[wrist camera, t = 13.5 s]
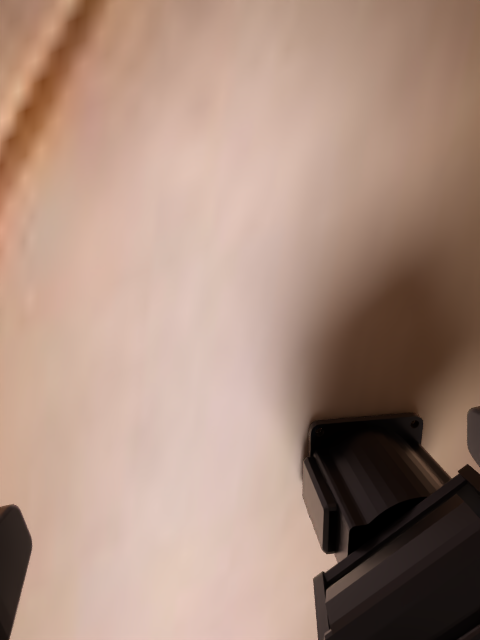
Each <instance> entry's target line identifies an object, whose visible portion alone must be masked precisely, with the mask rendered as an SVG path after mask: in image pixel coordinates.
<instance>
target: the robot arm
mask: <svg viewBox="0 0 480 640" xmlns="http://www.w3.org/2000/svg"><path fill="white" fill-rule="evenodd" d="M414 420H415V422H414V423H413V424H411V422H412V421H414ZM410 424H411V425H410ZM319 428H322V430H321V431H320V432H316V430H317V429H319ZM422 430H423V420H422V418H421V417H420V416H419V415H417V414H416V413H403V414H391V415H379V416H367V417H355V418H343V419H330V420H318V421H314V422H313V423H312V424H311V425H310V427H309V453H308V457H306V458H305V459H304V461H303V494H302V495H303V499H304V502H305V505H306V507H307V511H308V514H309V517H310V518H311V521H312V524H313V527H314V530H315V532H316V535H317V538H318V541H319V543H320V546H321V549H322V550H323V551H324V552H325V553H326V554H333V553H334V554H335V557H336V559H337V562H338V564H336V565H335V566H333V567H332V568H331V569H329V570H328V571H327V572H321V573H320V574H318V575H317V576H316V577H314V578H313V582H314V595H315V607H316V619H317V631H318V640H480V474H479V473H478V472H476V471H475V470H474V469H473V468H472V467H471V466H469V465H468V464H467V465H466V466H464V467H463V468H462V469H460V470H459V471H458V472H459V474H458V475H456V476H455V477H454V478H451V477H450V476H449V475H448V474H447V473H446V472H445V471H444V469H443V468H442V467H441V466H440V465H439V464H438V463H437V462H436V461H435V460H434V459H433V458H432V457H431V455H430V454H429V453H428V452H427V451H426V450H425V449H424V448H423V447H422V446H421V439H422ZM467 445H468V449H469V452H470V454H471V456H472V457H473V459H474V460H475V461H476V463H477V464H478V466H479V467H480V406H479V407H474V408H471V409H470V410H469V411H468V414H467ZM31 551H32V539H31V535H30V533H29V530H28V528H27V525H26V523H25V520H24V518H23V515H22V513H21V511H20V509H19V507H18V506H16V505H14V504H11V505H6V506H2V507H0V640H9V639H10V635H11V631H12V628H13V624H14V620H15V616H16V612H17V608H18V604H19V600H20V596H21V592H22V588H23V584H24V580H25V576H26V572H27V568H28V564H29V560H30V556H31Z"/></svg>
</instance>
